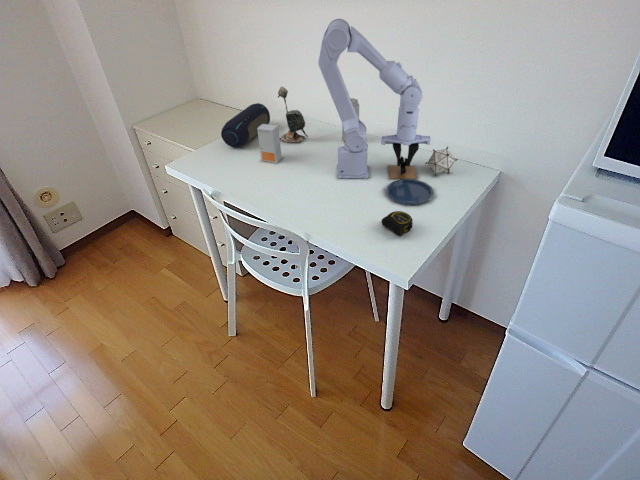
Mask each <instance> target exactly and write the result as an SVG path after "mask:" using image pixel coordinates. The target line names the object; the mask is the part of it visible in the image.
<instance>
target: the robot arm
mask: <svg viewBox="0 0 640 480" xmlns="http://www.w3.org/2000/svg"><path fill="white" fill-rule="evenodd" d="M346 49H347V53H356V54H357V53H358V54H359V55H360V56H361V57H362V58H363V59H365V60H366V61H367V62H368V63H370V64H371V65H372V67H374V68H375V69H376V70H378V72H379V74H378V75H379V76H378V77H379V79H380V81H382V82H383V83H384V84H385V85H386V86H387V87H388V88H389V89H391V90H392V92H394V93H395V94H396V95H399V96H400V97H399V107H398V114H397V124H396V133H395V134H391V135H381V138H380V139H381V140H380V141H381V145H382V146H385V145H392V149H393V151H394V154H395V157H396V165H397V166H400V158H401V156H402V155H401V154H402V145H403V146H408V151H407V157H406V158H407V159H408V166H410V165H411V163H412V160H413V159H414V157H415V155H416V153H417V152H418V151H419V149H420V146H419V144H421V145H422V144H423V145H424V144H425V145H431V140H432V138H431V135H422V134H417V129H418V122H419V121H418V120H419V112H420V108H419V106H420V102H421V101H422V99H423V91H422V89H421V86H420V83H419V81H417V79H416V78H414V76H413V75H412V74H409V73H407V71H405V70H404V69H403V64H402V63H401V62H400V61H398V62H396V61H395V60H387V59H386V58H385V57H384V56H383V54H381V53H380V52H379V50H377V49H376V48H375V47H374V46H373V44H372V43H371V42H370V41H368V39H367V38H366V37H365V36H364V35H363V34H362V33H361V32H360V31H359V30H357V29H356V28H355V27H354V26H352V25H350V23H348V21H346V20H345V19H343V18H335V19H333V20H331V21H330V23H328V25H327V28H326V30H325V32H324V34H323V37H322V40H321V46H320V50H319V56H318V61H317V63H318V67H319V70H320V72H321V75H322V77H323V79H324V83H325V84H326V87H327V90H328V92H329V94H330V96H331V99H332V101H333V104H334V107H335V109H336V111H337V114H338V116H339V118H340V121H341V126H342V125H343V129H344V133H345V136H346V143H345V142H344V144H343V145H340V146H338V147H337V164H336V170H337V178H338V179H368V178H369V166H368V147H369V145H368V140H367V127H366V124H365V122H363V121H362V120H361V119H360V116H359V117H358V115H357V114H356V112H355V109H354V107H353V104H352V101H351V99H350V98H351V96H350V94H349V91H348V89H347V86H346V83H345V81H344V78H343V75H342V73H341V70H340V67H339V64H338V61H339V60H340V57H341V55H342V54H343V52H345V51H346Z"/></svg>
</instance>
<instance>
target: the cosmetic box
mask: <svg viewBox="0 0 640 480" xmlns="http://www.w3.org/2000/svg"><path fill="white" fill-rule="evenodd" d="M279 128H280V127H279V125H276V124H270V123H269V124H262V125H261V126H259V127H258V128H257V130H258V134H257V137H258V138H257V139H258V145H259V153H260V159H261V161H262V162H267V163H274V164H278V163H279V161H281V160H282V148H281V140H280V138H281V137H280V129H279Z"/></svg>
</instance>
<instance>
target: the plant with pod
mask: <svg viewBox="0 0 640 480" xmlns="http://www.w3.org/2000/svg"><path fill="white" fill-rule="evenodd" d="M288 93H289V90H287V89H286V88H285V86H280V87H279V90H278V91H277V94H278V96H277V98H280V97H281V98H282V99H283V101H284V104H285V110H286V113H285V119H286V122H287V123H286V124H287V128H288V129H289V130H288V131H287V133H284V134H283V135H281V137H280V141H282V142H286V143H301V142H303V141H304V140H305V138H309V135H308V134H306V131H305V130H304V128H305V127H306V121H305V119H304V117H305V116H303V114H302V112H301V111H300V110H299V109H293V110H289V111H288V105H287V99H286V98H287V96H288ZM298 131H301V132H302V133H303V134H304V135H302V134H299V133H298Z"/></svg>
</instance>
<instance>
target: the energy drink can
mask: <svg viewBox="0 0 640 480" xmlns="http://www.w3.org/2000/svg"><path fill="white" fill-rule="evenodd" d="M350 99H351V101H352V104H353V107H354V109H355V112H356V114H357V115H358V117H359V118H360V104H359V102H358V99H357V98H354V97H350ZM341 133H342V134H341V135H342V137H341V138H342V139H341V140H342V141H343V143H344V144H345V143H346V136H345V133H344V129H343V125H342V124H341Z"/></svg>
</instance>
